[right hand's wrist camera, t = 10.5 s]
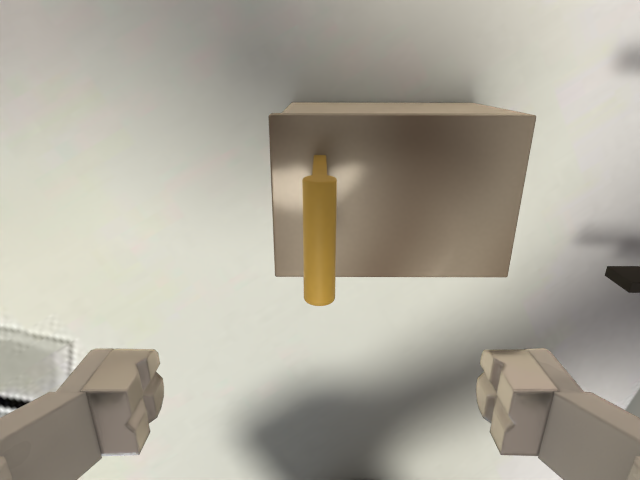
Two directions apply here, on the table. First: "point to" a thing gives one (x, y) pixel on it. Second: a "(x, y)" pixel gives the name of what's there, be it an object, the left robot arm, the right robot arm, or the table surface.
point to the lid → (395, 195)
